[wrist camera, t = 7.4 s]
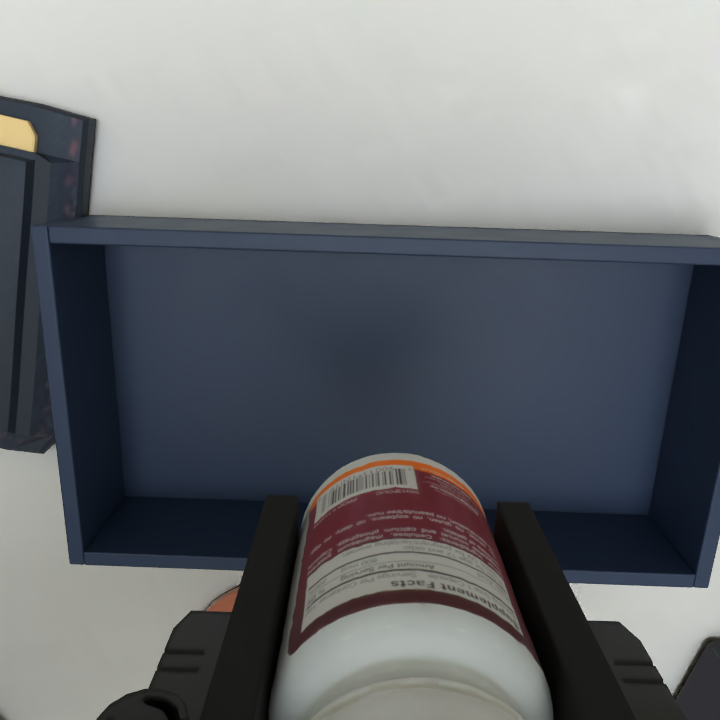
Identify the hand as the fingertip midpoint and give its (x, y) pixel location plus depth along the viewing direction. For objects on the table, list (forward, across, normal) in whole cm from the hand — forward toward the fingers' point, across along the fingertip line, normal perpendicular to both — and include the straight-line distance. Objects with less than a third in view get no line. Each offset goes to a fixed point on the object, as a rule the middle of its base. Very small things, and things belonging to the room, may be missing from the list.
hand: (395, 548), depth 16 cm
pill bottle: (+1, 0, 0) cm, 1 cm away
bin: (+13, 0, 0) cm, 13 cm away
